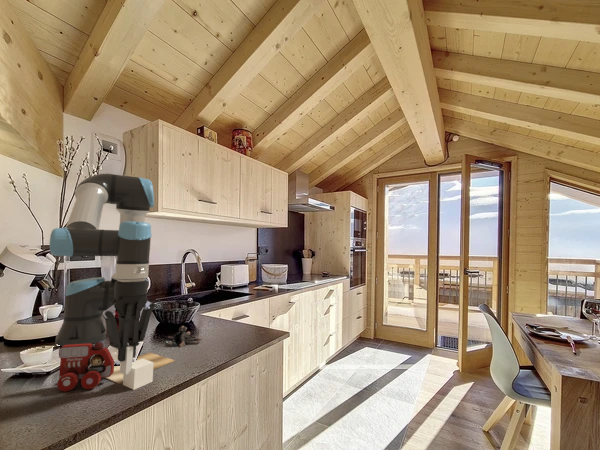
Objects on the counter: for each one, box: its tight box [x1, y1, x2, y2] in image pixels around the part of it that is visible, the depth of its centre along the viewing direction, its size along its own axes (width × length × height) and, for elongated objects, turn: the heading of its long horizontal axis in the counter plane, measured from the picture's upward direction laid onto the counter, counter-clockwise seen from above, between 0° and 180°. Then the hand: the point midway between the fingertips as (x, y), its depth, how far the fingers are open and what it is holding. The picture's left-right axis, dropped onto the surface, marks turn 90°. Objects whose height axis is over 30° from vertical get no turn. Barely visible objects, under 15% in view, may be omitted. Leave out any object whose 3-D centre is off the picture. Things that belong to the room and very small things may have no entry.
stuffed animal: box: [165, 325, 203, 348], centre depth 105 cm, size 12×10×12 cm
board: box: [104, 352, 176, 385], centre depth 83 cm, size 13×17×1 cm
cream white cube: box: [122, 359, 154, 391], centre depth 73 cm, size 5×5×5 cm
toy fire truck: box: [57, 341, 115, 392], centre depth 72 cm, size 7×12×10 cm, turn 103°
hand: (125, 372), depth 71 cm, fingers closed
